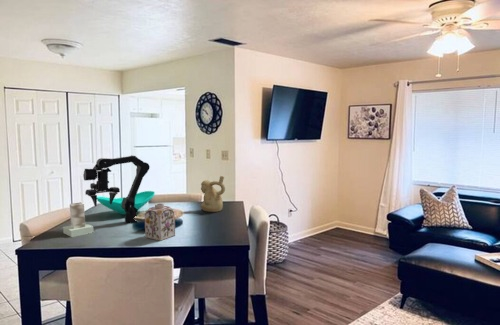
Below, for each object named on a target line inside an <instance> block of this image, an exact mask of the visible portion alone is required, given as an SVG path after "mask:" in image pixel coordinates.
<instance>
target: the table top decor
mask: <svg viewBox="0 0 500 325" xmlns="http://www.w3.org/2000/svg"><path fill="white" fill-rule="evenodd" d="M155 194H156V193H155V191H152V190H144V191H140V192H137V194H136V197H135V205H134V207H135V208H136V209H138V211H139V210H140V209H141V208H142V207H144V206H145V205H146V204H147V203H148V202H150V201H151V200H152V199H153V198H154V196H155ZM126 197H127V196H125V197H124V196H123V197H116V198H114V199H113V201H112V204H110V197H106V196H97V201H98V202H97V203H99V204H100V205H102V206H104V207H106V208H108V209H110V210H112V211H114V212H116V213H118V214H120V215H126V212H125V210H124V209H123V208H122V207H121V205H122V204H121V202H122V201H123V198H126Z"/></svg>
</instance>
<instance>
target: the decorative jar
mask: <svg viewBox="0 0 500 325" xmlns="http://www.w3.org/2000/svg"><path fill="white" fill-rule="evenodd" d="M175 219H176V216H175V211H174V209H173V208H172V207H171V206H168V205H165V204H164V203H162V202H160V203H154V206H152V207H149V208H148V209H147V210H146V211H145V213H144V236H145V239H151V240H155V241H156V240H157V241H159V242H160V241H161V242H162V241H163V240H166V239H167V240H168V239H169V238H172V237H174V236H176V220H175Z"/></svg>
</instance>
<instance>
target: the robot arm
mask: <svg viewBox="0 0 500 325" xmlns="http://www.w3.org/2000/svg"><path fill="white" fill-rule="evenodd" d="M128 163H132V164H133V165H134V166H135V167H136V170H135V172H136V173H135V177H134V179H133V182H132V184H131V187H130V189H129V192H128V194H127V196H125V197H126V198H124V197H122V198H123V201H122V202H121V204H122V205H121V207H122V208H123V209H124V210H125V212H126V214H124V222H125V223H126V224H136V223H138V220H137V221H135V220H134V219H133V218H134V217H135V216H137V215H138V214H137V213H138V211H139V210H138V209H136V208H135V207H134V205H135V197H136V194H137V193H139V192H138V191H139V190H140V186H141V184H142V181H143V178H144V176H146V174H147V173H148V171H149V170H150V168H151V166H150V165H149V163H148V162H144V161H143V160H141V159H140V158H139V157H137V156H136V155H128V156H122V157H121V156H120V157H116V158H107V157H105V158H98V159H97V160H96V163H95V165H94V166H93V167H92V168H84V171H83V180H84V181H96V179H97V181H96V183H95V182H92V183H90V186H89V187H90V189H86V190H85V196H86V195H87V196H88V197H90V198H91V200H92V202H93V205H94V207H97V205H98V202H97V201H98V200H97V197H98V196H97V194H102V193H108V194H109V198H110V204H112V201H113V199H115V197H116V196H117V195H118V193H120V191H121V190H120V188H119V187H116V186H114V187H113V186H111V187H109V183H110V181H109V172H110V173H111V172H112V170H111V169H110V167H113V166H115V165H122V164H123V165H124V164H128Z"/></svg>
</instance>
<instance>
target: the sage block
mask: <svg viewBox="0 0 500 325" xmlns="http://www.w3.org/2000/svg"><path fill="white" fill-rule="evenodd" d="M62 229H63V232H62V233H63V234H64V235H67V236H69V237H71V238H74V237H79V236H84V235H88V233H89V234H93V233H92V232H94V231H95V230H94V226H93V225H91V224H88V223H86V222H85V227H80V228H75V229H74V228H73V227H71V225H66V226H63V227H62Z"/></svg>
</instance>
